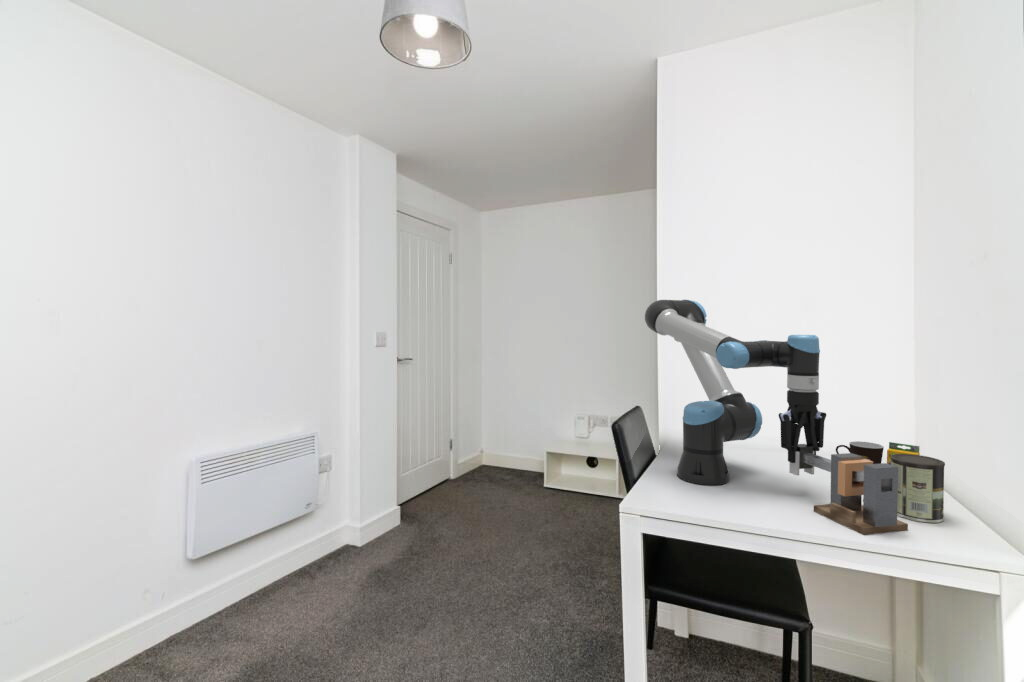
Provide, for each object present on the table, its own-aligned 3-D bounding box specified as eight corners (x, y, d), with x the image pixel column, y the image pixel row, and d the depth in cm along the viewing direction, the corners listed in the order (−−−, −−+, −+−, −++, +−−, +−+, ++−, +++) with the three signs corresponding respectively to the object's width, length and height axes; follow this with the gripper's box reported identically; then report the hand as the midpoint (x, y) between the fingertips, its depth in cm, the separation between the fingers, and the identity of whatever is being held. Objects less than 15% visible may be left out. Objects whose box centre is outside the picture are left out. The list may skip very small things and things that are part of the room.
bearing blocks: (830, 507, 119) (831, 454, 119) (850, 505, 120) (851, 453, 120) (875, 527, 107) (876, 468, 107) (897, 525, 108) (898, 466, 108)
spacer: (837, 493, 116) (838, 461, 115) (865, 491, 117) (865, 459, 117) (844, 496, 114) (845, 463, 114) (872, 493, 115) (873, 461, 115)
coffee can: (924, 508, 122) (925, 454, 122) (955, 524, 112) (956, 465, 112) (880, 505, 124) (881, 452, 123) (906, 522, 114) (907, 464, 113)
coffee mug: (890, 479, 145) (890, 447, 144) (869, 482, 142) (869, 449, 142) (853, 468, 156) (853, 438, 156) (833, 470, 153) (833, 440, 153)
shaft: (791, 465, 133) (792, 444, 133) (804, 464, 133) (804, 443, 133) (853, 489, 114) (854, 464, 113) (867, 488, 114) (868, 463, 114)
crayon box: (886, 481, 143) (886, 443, 142) (888, 479, 145) (888, 441, 145) (917, 487, 138) (918, 447, 137) (919, 485, 140) (919, 446, 139)
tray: (813, 511, 121) (813, 495, 120) (853, 507, 123) (853, 492, 123) (863, 534, 107) (864, 517, 107) (907, 530, 109) (908, 513, 109)
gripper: (785, 393, 126) (784, 479, 127) (840, 391, 129) (839, 475, 130) (765, 389, 133) (765, 471, 134) (818, 387, 136) (817, 467, 137)
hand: (801, 473), depth 132 cm, fingers closed on shaft, 4 cm apart
